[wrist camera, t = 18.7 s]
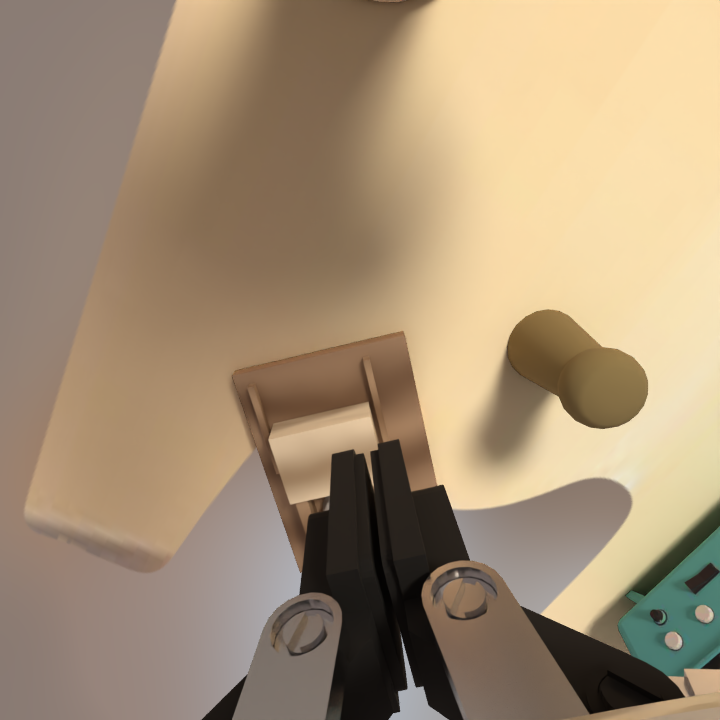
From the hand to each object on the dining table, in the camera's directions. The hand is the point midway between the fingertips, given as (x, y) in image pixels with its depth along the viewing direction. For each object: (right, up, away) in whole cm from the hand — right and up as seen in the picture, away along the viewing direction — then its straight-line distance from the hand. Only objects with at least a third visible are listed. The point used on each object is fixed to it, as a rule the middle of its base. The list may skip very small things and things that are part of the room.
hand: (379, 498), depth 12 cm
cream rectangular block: (-3, -4, +28) cm, 29 cm away
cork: (+15, +5, +28) cm, 32 cm away
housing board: (-2, -5, +30) cm, 31 cm away
